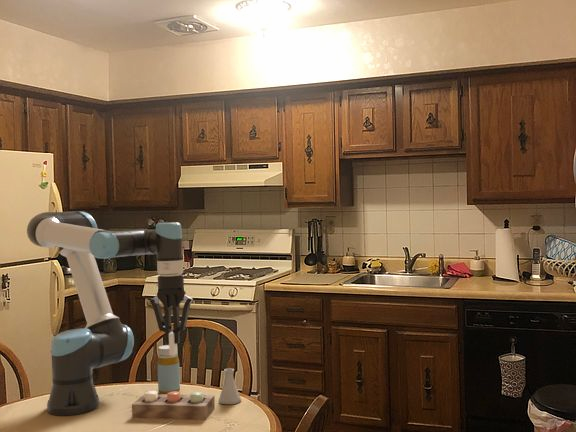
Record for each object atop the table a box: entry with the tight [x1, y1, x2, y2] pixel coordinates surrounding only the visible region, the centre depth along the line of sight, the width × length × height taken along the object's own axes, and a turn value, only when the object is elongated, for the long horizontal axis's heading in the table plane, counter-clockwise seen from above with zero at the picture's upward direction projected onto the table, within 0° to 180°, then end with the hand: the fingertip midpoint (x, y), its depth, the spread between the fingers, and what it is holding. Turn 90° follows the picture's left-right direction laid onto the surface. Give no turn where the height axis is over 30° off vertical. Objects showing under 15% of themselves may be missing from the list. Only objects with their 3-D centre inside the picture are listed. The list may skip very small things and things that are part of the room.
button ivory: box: [143, 390, 159, 402], centre depth 184 cm, size 4×4×4 cm
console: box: [131, 393, 216, 421], centre depth 183 cm, size 22×10×4 cm, turn 82°
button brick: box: [167, 391, 181, 402], centre depth 183 cm, size 4×4×4 cm
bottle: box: [157, 344, 181, 394], centre depth 204 cm, size 7×7×15 cm
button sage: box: [189, 391, 204, 403], centre depth 182 cm, size 4×4×4 cm
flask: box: [218, 368, 242, 405], centre depth 193 cm, size 7×7×10 cm
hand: (173, 354), depth 182 cm, fingers closed
